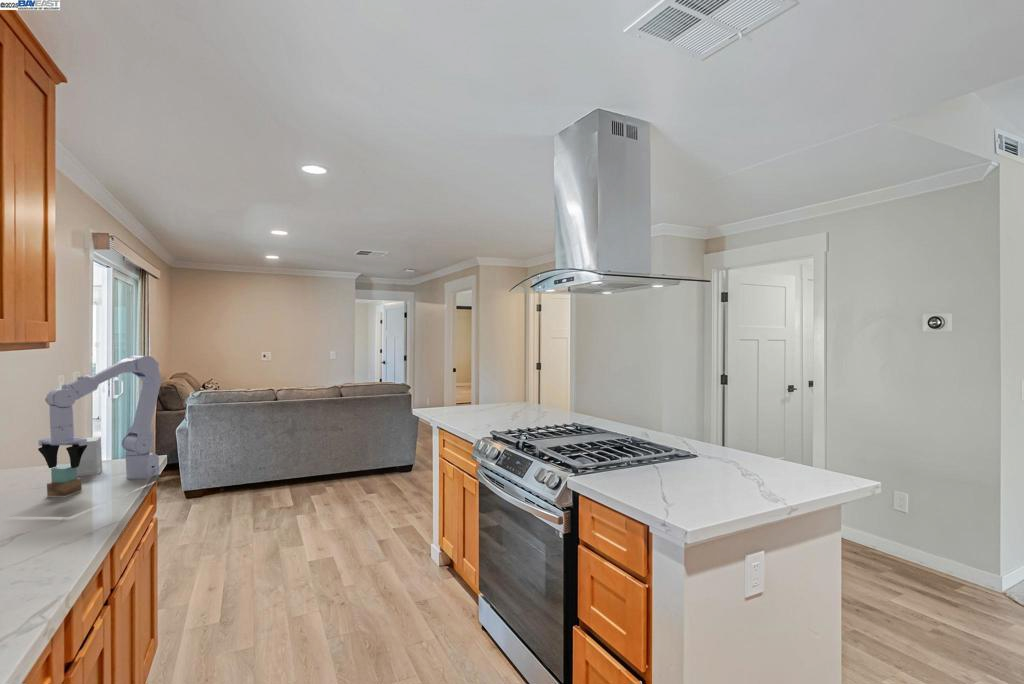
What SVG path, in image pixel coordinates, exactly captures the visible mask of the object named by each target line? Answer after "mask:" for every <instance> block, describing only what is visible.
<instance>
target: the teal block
mask: <svg viewBox="0 0 1024 684" xmlns="http://www.w3.org/2000/svg"><path fill="white" fill-rule="evenodd" d="M50 469H51V476H50V477H51V482H52V483H66V482H69V481H72V480H75V479H78V478H79V476H77V467H76V468H71V464H63V465H60V466H56V467H53V468H50Z"/></svg>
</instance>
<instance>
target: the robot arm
mask: <svg viewBox="0 0 1024 684" xmlns="http://www.w3.org/2000/svg"><path fill="white" fill-rule="evenodd" d="M159 366H160V363H159V362H158V361H157V360H156V359H155V358H154V357H153V356H151V355H138V354H136V355H135V354H134V355H130V356H128V357H125V358H122V359H121V360H119V361H118V362H115V363H114V364H112V365H110V366H108V367H107V368H105V369H103V370H101V371H99V372H97V373H96V374H94V375H92V376H91V375H79V376H77V377H76V379H75V380H74V381H72V382H71V381H70V382H69V383H67V384H66V383H65V384H62V385H61V388H55V389H52V390H50V391H48V394H46V398H44V400H45V403H46V404H47V405H48V406H49V427H50V438H42V439H41V438H40V439H38V449H37V450H38V452H39V453H40V454H41V455H42V456H43V458H44V460H45V461H46V465H47V467H48V469H52V468H56V467H58V452H59V448H60V446H67V447H66V449H65V450H66V451H67V453H68V456H69V462H70V464H69V465H71V468H76V467H79V464H80V460H81V457H82V454H83V452H84V451H85V449H86V447H87V439H82V438H81V437H75V428H74V411H73V405H74V404H75V402H76V401H77V400H78V401H79V399H81V398H83V397H85V396H87V395H89V394H91V393H93V392H94V391H97V390H98V388H99V385H101V384H102V383H105V382H106V381H109V380H111V379H112V378H116V377H117V376H119V375H121V374H124V373H126V374H127V373H132V374H133V375H135V376H137V377H138V378H139V380H140V381H141V382H142V385H141V390H140V394H139V398H138V401H137V406H136V411H135V413H134V418H133V422H132V425H131V426H130V427H129V428H128V430H127V432H126V434H125V436H124V437H123V439H122V440H121V447H122V448H123V449H124V450H125V470H126V471H125V472H126V473H125V474H126V479H129V480H137V479H150V478H153V477H154V476H160V475H161V474H162V473H161V472H160V459H159V456H158V454H157V453H153V452H151V450H152V448H153V447H154V440H153V435H154V433H153V431H152V428H151V426H152V421H153V417H154V414H155V409H156V405H157V400H158V397H159V392H160V390H161V389H160V388H161V386H162V385H161V383H162V381H163V380H162V379H163V378H162V375H161V371H160V368H159ZM68 446H69V447H68Z"/></svg>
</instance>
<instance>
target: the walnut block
mask: <svg viewBox="0 0 1024 684" xmlns="http://www.w3.org/2000/svg"><path fill="white" fill-rule="evenodd" d="M82 489H83V487H82V477H78V479H75V480H72V481H69V482H66V483H52V481H50V482H47V483H46V496H66V497H68V496H67V495H69V496H71V495H70V494H72V493H74V494H76V493H75V492H77V493H79V492H78V491H80V490H82ZM82 491H83V490H82ZM80 492H81V491H80ZM72 495H73V494H72Z"/></svg>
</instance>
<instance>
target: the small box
mask: <svg viewBox="0 0 1024 684" xmlns="http://www.w3.org/2000/svg"><path fill="white" fill-rule="evenodd" d="M82 439H87V447H86V449H85V451H84V452H83V454H82V457H81V460H80V464H79V467H77V477H82V476H84V477H85V476H98V475H100V473H101V472H102V471H103V458H102V437H101V436H94V437H85V438H82Z"/></svg>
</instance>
